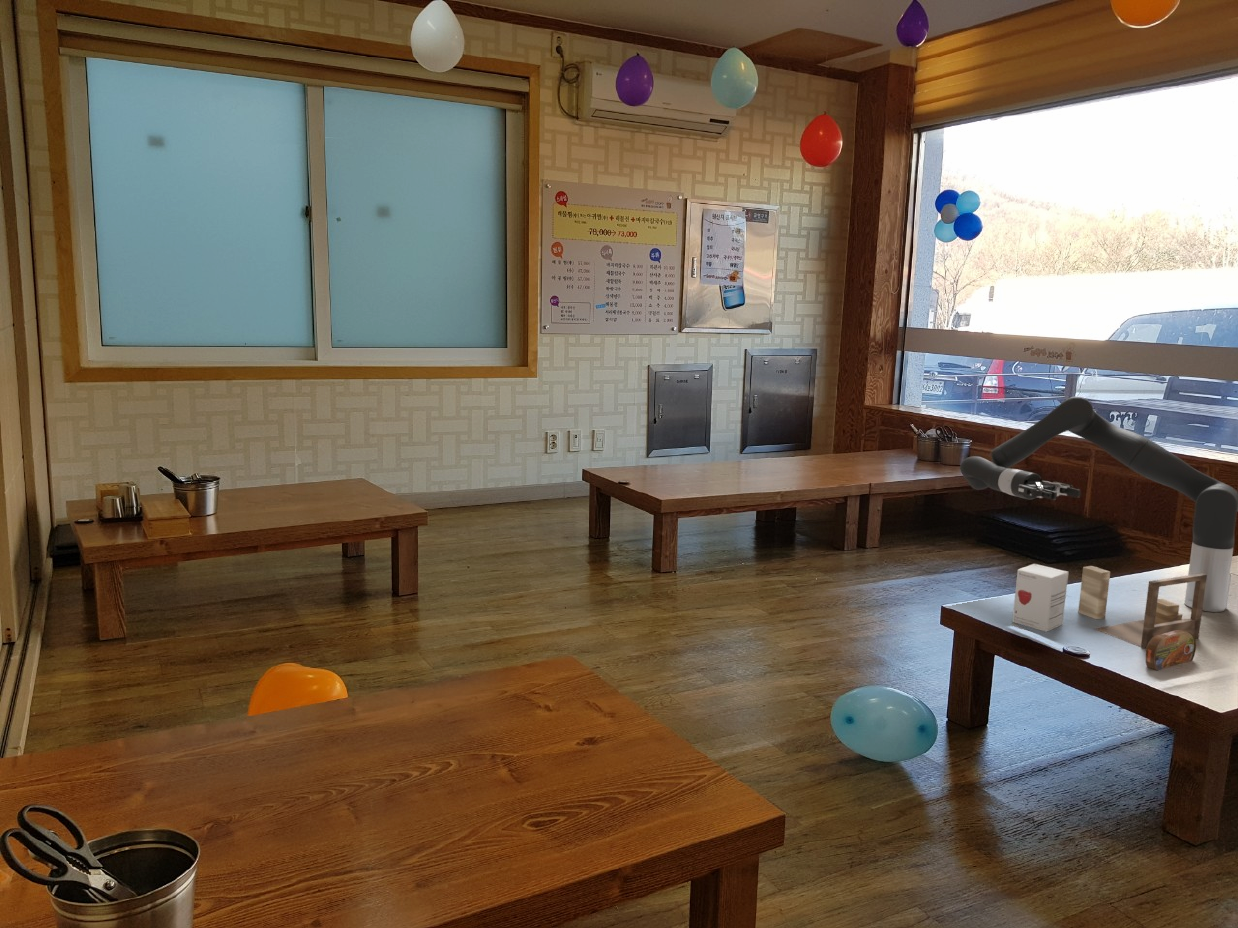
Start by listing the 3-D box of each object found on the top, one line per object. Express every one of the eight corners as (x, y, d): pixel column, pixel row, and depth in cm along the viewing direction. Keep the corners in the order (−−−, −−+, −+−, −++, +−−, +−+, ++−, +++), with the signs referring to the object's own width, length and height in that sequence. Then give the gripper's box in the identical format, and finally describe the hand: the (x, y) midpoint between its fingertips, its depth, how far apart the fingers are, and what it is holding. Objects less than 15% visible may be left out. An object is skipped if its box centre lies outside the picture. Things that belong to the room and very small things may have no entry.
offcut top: (1160, 607, 224) (1161, 598, 223) (1178, 614, 219) (1179, 605, 218) (1149, 609, 223) (1150, 599, 222) (1167, 615, 218) (1168, 606, 217)
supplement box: (1010, 626, 227) (1015, 568, 224) (1027, 618, 232) (1033, 562, 229) (1046, 636, 220) (1052, 577, 217) (1063, 628, 225) (1069, 571, 223)
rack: (1144, 624, 229) (1152, 558, 226) (1197, 643, 216) (1207, 574, 213) (1093, 633, 222) (1100, 565, 219) (1144, 653, 210) (1153, 582, 207)
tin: (1154, 677, 196) (1158, 640, 195) (1140, 672, 199) (1144, 635, 198) (1195, 665, 203) (1200, 630, 202) (1181, 660, 206) (1185, 625, 205)
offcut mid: (1157, 616, 224) (1159, 607, 224) (1181, 623, 219) (1182, 614, 219) (1148, 619, 222) (1149, 610, 222) (1172, 626, 217) (1173, 617, 217)
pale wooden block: (1086, 613, 235) (1091, 565, 233) (1104, 620, 230) (1110, 571, 228) (1077, 615, 234) (1083, 566, 232) (1096, 622, 229) (1101, 572, 227)
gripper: (1001, 471, 250) (1049, 482, 236) (1040, 468, 256) (1088, 479, 241) (999, 498, 252) (1046, 510, 237) (1037, 494, 257) (1085, 506, 242)
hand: (1067, 495), depth 239 cm, fingers open, 8 cm apart
